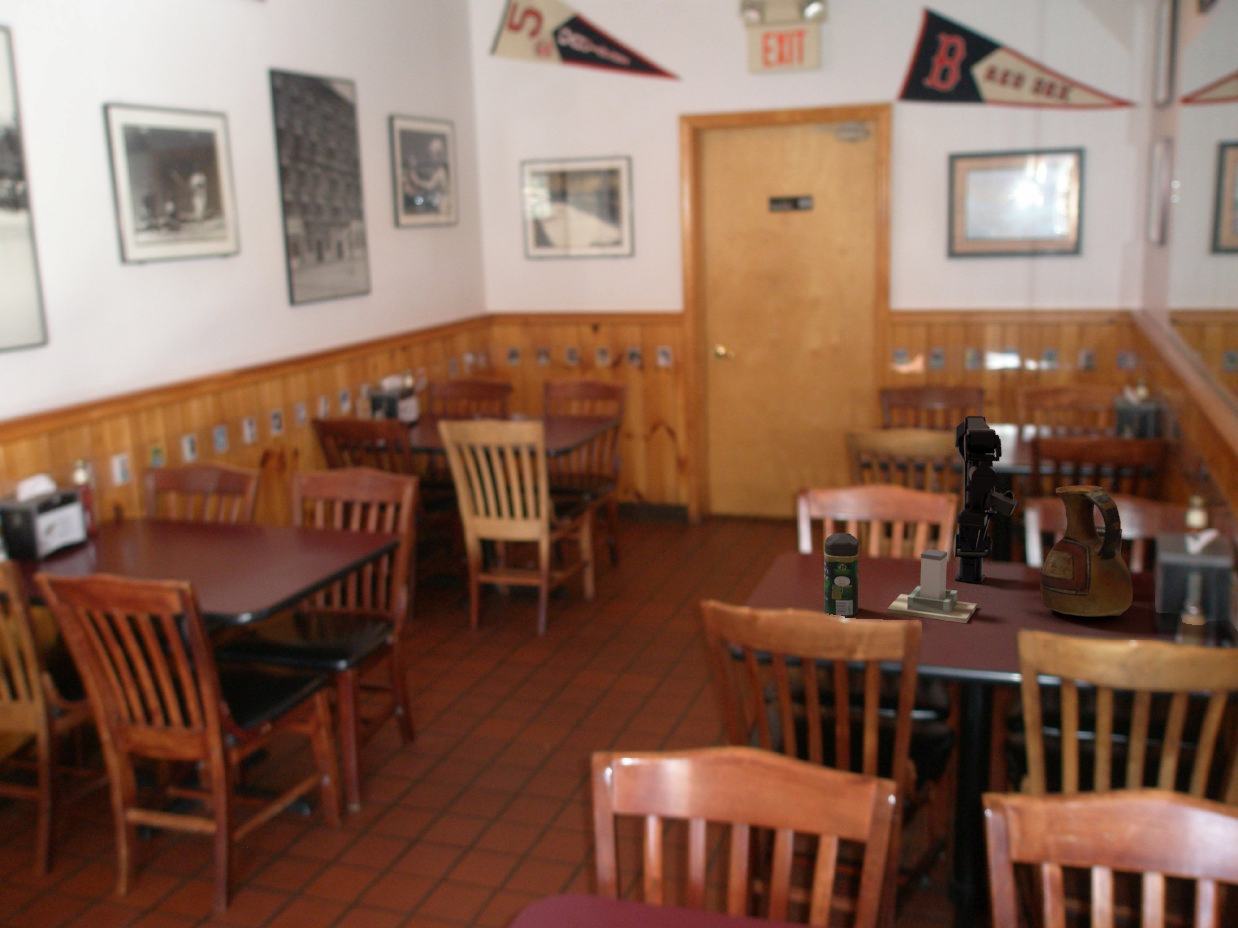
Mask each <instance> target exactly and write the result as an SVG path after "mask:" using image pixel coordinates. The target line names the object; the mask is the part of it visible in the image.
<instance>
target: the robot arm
mask: <svg viewBox="0 0 1238 928" xmlns="http://www.w3.org/2000/svg"><path fill="white" fill-rule="evenodd" d="M986 422H987V421H986V416H983V415H966V416H964V418H963V421H962V422H961V423H960V424H958V425H957V426H956V427H955V432H954V448H956V451H957V452H956V453H957V454H956V455H957V457H958V460H959V461H960V462H961V463H962V464H963V509H962V510H961V511H960V512H959V513H958V514H957V516H956V517H957V518H956V523H957V524H958V528H957V531H956V532H957V533H955V534H954V539H953V556H954V558H959V559H958V574H957V575H956V576H955V577H954V581H957V582H966V583H972V584H973V583H976V584H981V583H982V582H984V580H985V578H986V576H987V575H986V574H983V565H984V564H983V563H984V561H983V560H984V559H990V558H991V557H992V550H993V549H992V548H993V539H992V537H991V535H990V534H989V533H988V531H989V530H988V529H989V528H988V525H989V523H990V519H992V518H993V517H994V516H995V515H996V514H997V513H998V512H999V513H1001V514H1002V515H1004V516H1006V517H1010V516H1011V515H1012V514H1013V512H1014V510H1015V508H1016V506H1017V503H1018V500H1017V499H1016V498H1015V493H1014V492H1013V491H1011V490H1007V491H1006V492H1004V493H1003V492H997V491H996V487H995V486H996V484H997V482H998V476H997V473H996V471H995V469H994V463H993V462H1000V458H1002V455H1003V452H1002V440H1001V438H1000V435H999V434H997V433H996V432H997V431H996V430H995V429H994V428H991V427H990V426H989V425H988V424H987V423H986Z"/></svg>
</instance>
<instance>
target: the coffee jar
mask: <svg viewBox="0 0 1238 928" xmlns="http://www.w3.org/2000/svg"><path fill="white" fill-rule="evenodd" d="M859 544H860V543H859V540H858V539H857V537H856V536H854V535H853V534H851V533H850V532H848V533H845V532H835V533H833V534H831V535H829V536H828V537H826V538H825V542H824V553H823V554H824V555H823V557H824V561H823V563H824V564H823V565H824V566H823V578H824V579H823V583H824V585H823V587H824V589H823V592H824V593H823V594H824V595H823V597H824V598H823V599H824V600H823V605H824V607H823V608H824V612H825V614H826V613H829V614H833V615H841V616H847V617H846V618H851V617H855V616H856V615H857V613H858V611H859V610H858V609H859V552H860V551H859Z"/></svg>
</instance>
